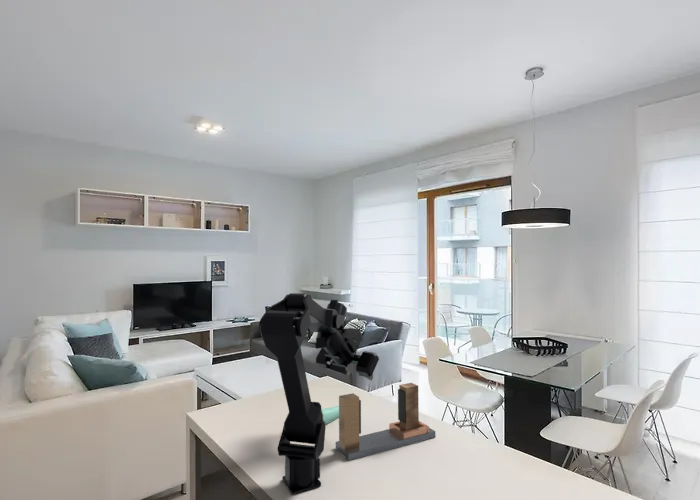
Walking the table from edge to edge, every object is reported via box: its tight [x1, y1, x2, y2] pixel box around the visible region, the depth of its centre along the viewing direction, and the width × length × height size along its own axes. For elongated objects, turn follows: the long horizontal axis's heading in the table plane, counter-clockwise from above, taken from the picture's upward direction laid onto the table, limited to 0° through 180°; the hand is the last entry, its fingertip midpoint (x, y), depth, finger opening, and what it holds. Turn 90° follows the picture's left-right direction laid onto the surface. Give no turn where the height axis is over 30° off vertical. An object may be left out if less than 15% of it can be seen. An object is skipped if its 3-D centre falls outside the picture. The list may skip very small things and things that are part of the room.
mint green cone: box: [321, 405, 339, 426], centre depth 116 cm, size 5×6×27 cm
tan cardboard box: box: [397, 382, 420, 431], centre depth 103 cm, size 5×3×12 cm, turn 118°
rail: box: [335, 392, 437, 461], centre depth 100 cm, size 26×7×14 cm, turn 118°
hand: (358, 376), depth 112 cm, fingers open, 9 cm apart
